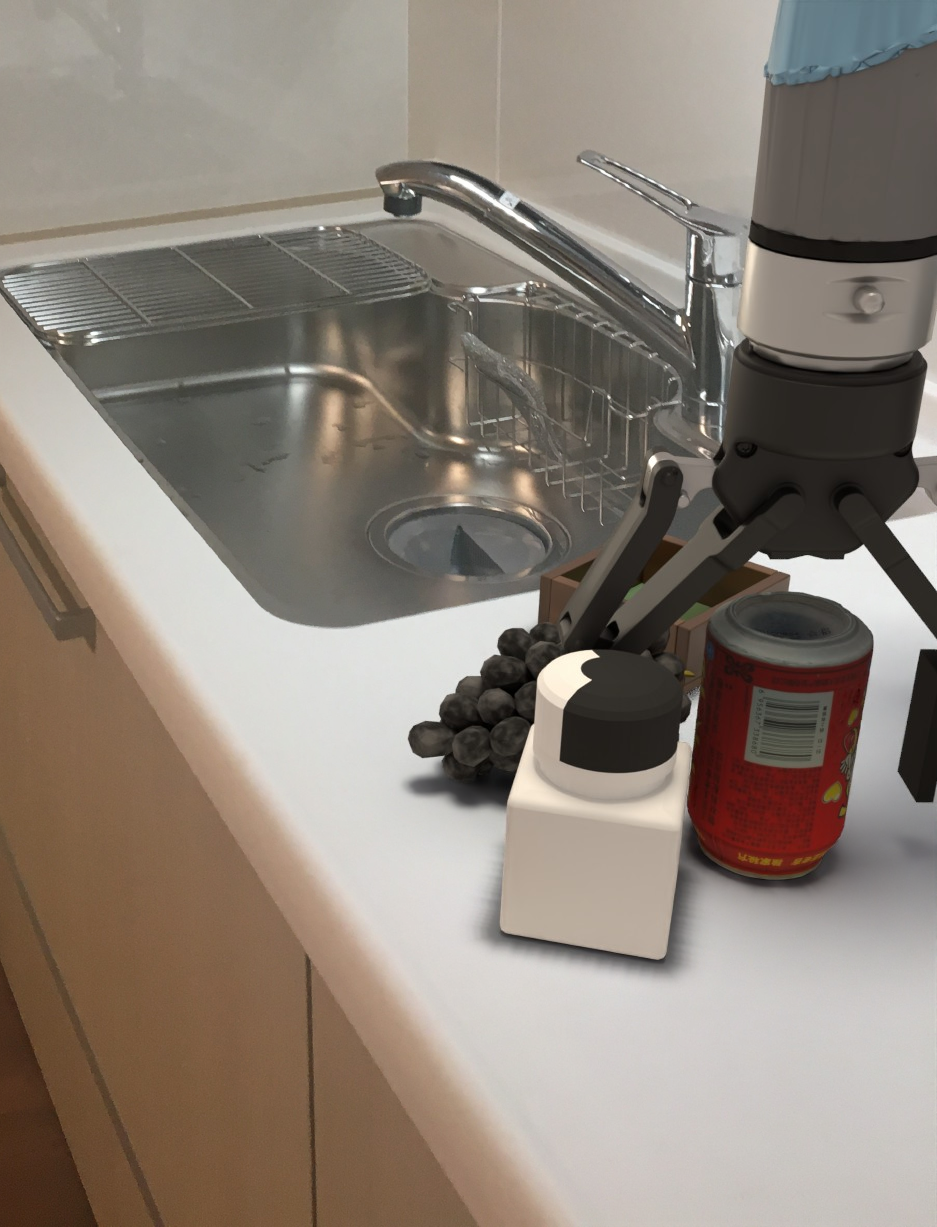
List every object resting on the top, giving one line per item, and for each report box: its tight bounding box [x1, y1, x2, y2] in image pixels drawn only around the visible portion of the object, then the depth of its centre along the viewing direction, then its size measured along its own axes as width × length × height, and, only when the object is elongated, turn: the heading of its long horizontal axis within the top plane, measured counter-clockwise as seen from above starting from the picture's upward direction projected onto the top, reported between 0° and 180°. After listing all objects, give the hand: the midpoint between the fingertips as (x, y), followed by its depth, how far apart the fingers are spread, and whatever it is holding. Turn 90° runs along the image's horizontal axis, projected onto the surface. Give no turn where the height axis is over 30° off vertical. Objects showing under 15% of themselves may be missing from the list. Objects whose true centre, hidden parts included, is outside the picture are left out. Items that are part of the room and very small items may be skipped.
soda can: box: [686, 590, 875, 881], centre depth 77 cm, size 7×7×12 cm
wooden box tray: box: [537, 533, 791, 694], centre depth 98 cm, size 10×10×4 cm
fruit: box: [407, 602, 696, 784], centre depth 86 cm, size 9×8×15 cm
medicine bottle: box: [499, 650, 693, 961], centre depth 74 cm, size 7×7×12 cm
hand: (766, 785), depth 78 cm, fingers open, 13 cm apart
